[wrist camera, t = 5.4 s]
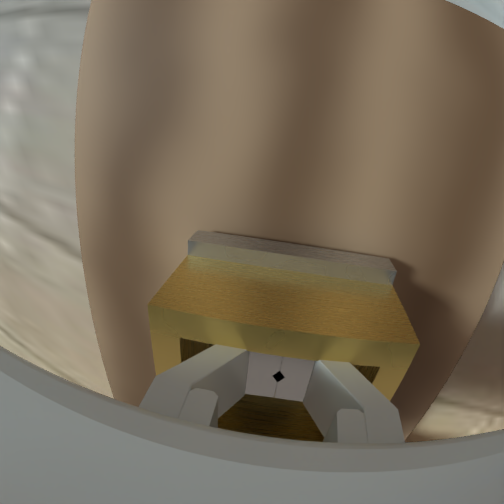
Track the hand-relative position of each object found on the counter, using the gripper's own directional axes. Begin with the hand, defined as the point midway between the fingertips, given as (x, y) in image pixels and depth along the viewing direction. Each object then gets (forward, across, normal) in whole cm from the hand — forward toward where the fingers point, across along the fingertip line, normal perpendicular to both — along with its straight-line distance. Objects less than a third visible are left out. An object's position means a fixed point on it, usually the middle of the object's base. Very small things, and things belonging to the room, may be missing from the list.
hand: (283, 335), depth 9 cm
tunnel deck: (+7, 0, +15) cm, 16 cm away
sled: (+2, 0, +14) cm, 14 cm away
